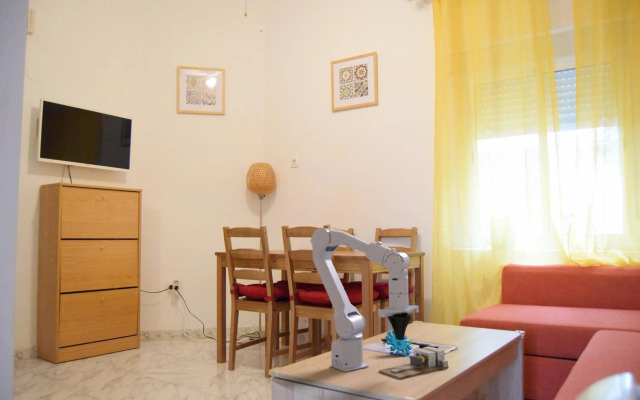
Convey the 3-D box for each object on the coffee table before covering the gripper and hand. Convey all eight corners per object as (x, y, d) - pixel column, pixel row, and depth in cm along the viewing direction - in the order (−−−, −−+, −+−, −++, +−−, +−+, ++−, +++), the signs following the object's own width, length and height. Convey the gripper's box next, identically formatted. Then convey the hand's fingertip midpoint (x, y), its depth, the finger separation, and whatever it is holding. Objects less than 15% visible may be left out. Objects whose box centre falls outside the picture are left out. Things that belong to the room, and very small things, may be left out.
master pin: (420, 366, 143) (420, 358, 143) (410, 363, 147) (410, 355, 147) (443, 361, 149) (443, 353, 149) (432, 358, 152) (432, 350, 153)
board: (400, 379, 135) (400, 375, 135) (378, 372, 143) (378, 368, 143) (448, 367, 147) (448, 363, 147) (426, 361, 154) (426, 357, 154)
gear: (393, 353, 158) (383, 328, 166) (385, 363, 162) (375, 338, 169) (420, 354, 163) (408, 329, 171) (411, 364, 167) (400, 339, 174)
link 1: (428, 368, 144) (428, 353, 144) (409, 363, 150) (409, 348, 151) (435, 366, 146) (435, 352, 146) (416, 361, 152) (416, 347, 152)
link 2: (442, 367, 145) (441, 352, 145) (422, 362, 151) (422, 347, 152) (449, 365, 146) (448, 351, 147) (429, 360, 153) (429, 346, 153)
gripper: (389, 296, 136) (390, 345, 135) (425, 292, 144) (427, 338, 143) (373, 293, 142) (374, 340, 141) (408, 290, 150) (409, 334, 149)
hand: (399, 339), depth 142 cm, fingers closed
